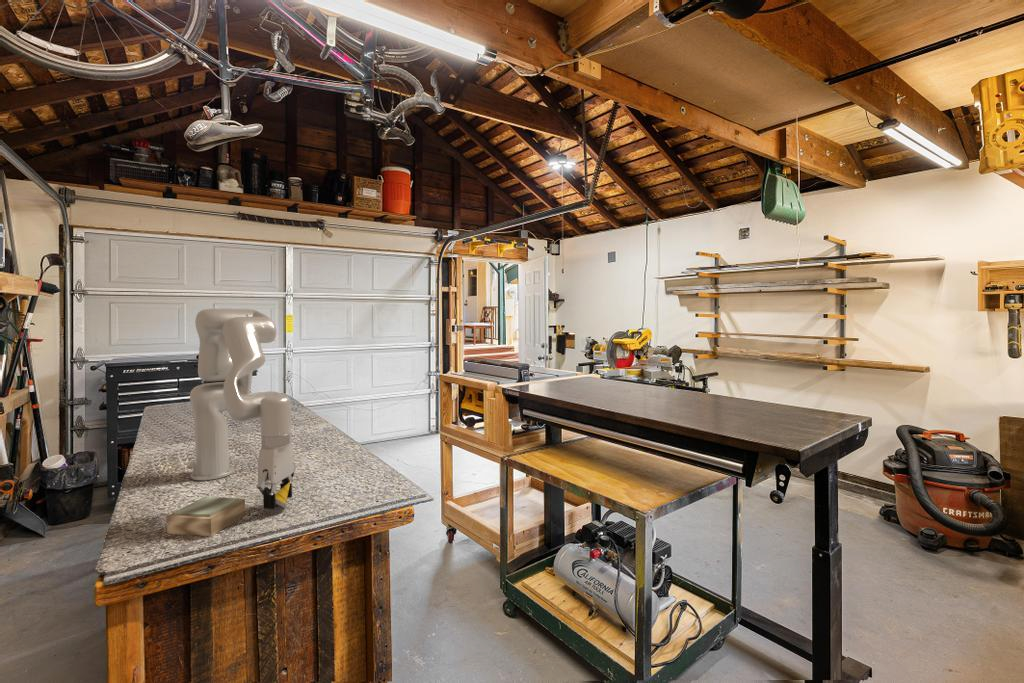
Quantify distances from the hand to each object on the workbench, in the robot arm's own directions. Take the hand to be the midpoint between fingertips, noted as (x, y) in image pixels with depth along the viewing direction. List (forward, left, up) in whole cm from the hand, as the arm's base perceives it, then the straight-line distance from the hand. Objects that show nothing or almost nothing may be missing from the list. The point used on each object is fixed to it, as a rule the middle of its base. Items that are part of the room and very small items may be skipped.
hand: (278, 502), depth 126 cm
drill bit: (0, 0, -2) cm, 2 cm away
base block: (-13, -10, -2) cm, 17 cm away
